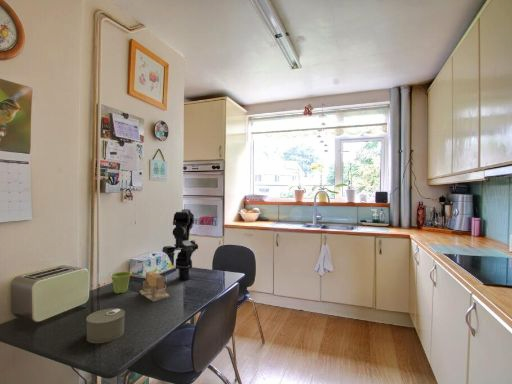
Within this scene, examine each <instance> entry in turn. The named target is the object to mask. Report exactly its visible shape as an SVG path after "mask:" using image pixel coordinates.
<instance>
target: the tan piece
mask: <svg viewBox="0 0 512 384" xmlns="http://www.w3.org/2000/svg"><path fill="white" fill-rule="evenodd" d="M139 294H141V295H142V296H144V297H145V298H147V299H149V300H151V301H152V302H157V301H160V300H163V299H168V298H170V294H169V293H167V285H166V284H165V283H164V288H163V289H159V290H157V288H156V287H155V286H150V285H148V284H147V282H146V280H144V281H142V289H141V290H139Z"/></svg>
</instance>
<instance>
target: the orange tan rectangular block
mask: <svg viewBox="0 0 512 384" xmlns="http://www.w3.org/2000/svg"><path fill="white" fill-rule="evenodd" d="M145 282H147V284H148V285H150V286H155V287H156V288H157V290H159V289H163V288H164V284H165V277H164V276H163V275H161V274H158V273H157V272H154V271H152V270H151V271H146V272H145Z"/></svg>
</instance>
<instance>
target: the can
mask: <svg viewBox="0 0 512 384" xmlns="http://www.w3.org/2000/svg"><path fill="white" fill-rule="evenodd" d="M125 315H126V310H124V309H123V308H119V307H109V308H103V309H99V310H96V311H94V312H91V313H90V314H89V315H87V316H86V319H85V321H86V341H87V342H89V343H91V344H102V343H107V342H111V341H115V340H116V339H118V338H120V337H121V336H122V335H123V334H124V332H125Z"/></svg>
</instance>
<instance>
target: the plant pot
mask: <svg viewBox="0 0 512 384" xmlns="http://www.w3.org/2000/svg"><path fill="white" fill-rule="evenodd" d="M131 275H132V273H131V272H130V271H120V272H119V271H118V272H115V273H112V274H110V277H111V280H112V286H113V293H115V294H124V293H126V292H127V291H128V289H129V283H130V277H131Z"/></svg>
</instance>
